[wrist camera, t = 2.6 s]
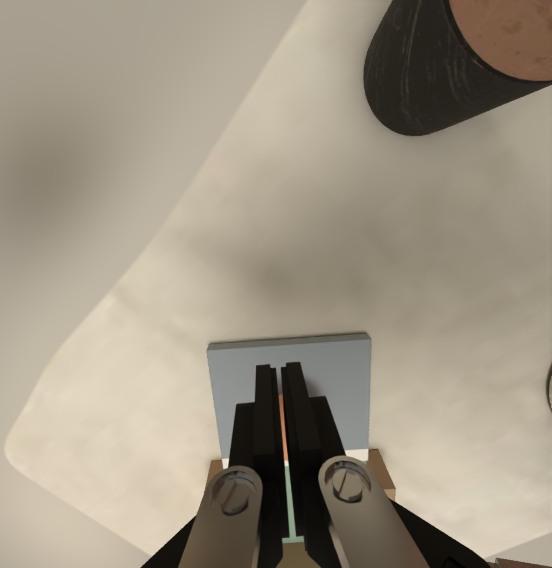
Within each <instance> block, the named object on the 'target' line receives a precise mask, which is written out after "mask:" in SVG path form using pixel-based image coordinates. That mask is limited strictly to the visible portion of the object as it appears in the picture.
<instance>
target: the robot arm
mask: <svg viewBox="0 0 552 568" xmlns="http://www.w3.org/2000/svg"><path fill="white" fill-rule="evenodd" d="M281 381H282V395H283V410H284V425H285V436H286V446H287V455H288V465H289V475H290V484H291V494H292V503H293V513H294V522H295V532H296V537H300V536H303V537H304V545H305V551H307V554H308V556H309V557H310V558H311V559H313V560H314V561H315V562H316V563H317V564H318V565H319V566H320V567H321V568H552V567H549V566H543V565H537V564H531V563H525V562H519V561H513V560H507V559H501V558H496V560H495V563H491V562H486V561H485V560H484V559H482V558H481V557H480V556H479V555H477V554H476V553H475V552H473V551H472V550H470V549H469V548H467V547H466V546H464V545H463V544H461V543H459V542H458V541H456V540H455V539H453V538H451V537H450V536H448V535H447V534H445V533H444V532H442V531H440V530H439V529H437V528H436V527H434V526H433V525H431V524H429V523H428V522H426V521H425V520H423V519H421V518H420V517H418V516H417V515H415V514H414V513H412V512H410V511H409V510H407V509H406V508H404V507H403V506H401V505H399V504H398V503H396V502H395V501H393V500H391V499H390V498H388V496H387V495H386V493H385V491H384V490H383V488H382V486H381V485H380V483H379V481H378V480H377V478H376V476H375V475H374V473H373V472H372V471H371V469H370V468H369V467H368V466H367V465H366V464H364V463H363V462H362V461H360V460H358V459H356V458H354V457H349V456H346V453H345V450H344V447H343V444H342V441H341V438H340V435H339V433H338V430H337V427H336V424H335V421H334V418H333V415H332V412H331V409H330V406H329V403H328V400H327V398H326V396H316V397H309V395H308V391H307V387H306V383H305V379H304V375H303V371H302V367H301V363H300V362H288V363H286V367H281ZM549 398H550V404H551V408H552V376H551V380H550V387H549ZM282 538H290V531H289V517H288V503H287V489H286V475H285V461H284V449H283V437H282V426H281V415H280V404H279V394H278V383H277V372H276V367H275V368H271V367H270V364H264V365H256V379H255V402H248V403H237V404H236V409H235V416H234V424H233V432H232V439H231V447H230V455H229V463H228V468H226V469H223V470H222V471H220V472H219V473H218V474H216V475H215V476H214V477H213V478H212V480H211V481H210V482H209V484H208V486H207V488H206V490H205V492H204V495H203V498H202V501H201V504H200V507H199V510H198V512H197V515H196V516H195V517H194V518H193V519H192V520H191V521H189V522H188V523H187V524H186V525H185V526H184V527H183V528H182V529H181V530H180V531H179V532H178V533H177V534H176V535H175V536H174V537H173V538H171V539H170V540H169V541H168V542H167V543H166V544H165V545H164V546H163V547H162V548H161V549H160V550H159V551H158V552H157V553H156V554H154V555H153V556H152V557H151V558H150V559H149V560H148V561H147V562H146V563H145V564H144V565H143V566H142V567H141V568H276V567H277V565H278V564H279V563H280V561H281V560H282V558H283V541H282Z"/></svg>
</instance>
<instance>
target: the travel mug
mask: <svg viewBox="0 0 552 568" xmlns="http://www.w3.org/2000/svg"><path fill="white" fill-rule="evenodd" d="M550 85H552V0H393V1H392V3H391V4H390V6H389V8H388V10H387V12H386V14H385V16H384V18H383V19H382V21H381V23H380V25H379V27H378V29H377V31H376V33H375V35H374V37H373V39H372V41H371V44H370V47H369V49H368V52H367V56H366V60H365V67H364V87H365V92H366V96H367V100H368V102H369V105H370V107H371V109H372V111H373V112H374V114H375V115H376V117H377V118H378V119H379V120H380V121H381V122H382V123H383V124H384V125H385V126H387V127H388V128H390V129H391V130H393V131H395V132H397V133H401V134H404V135H411V136H420V135H426V134H430V133H433V132H436V131H439V130H442V129H444V128H447V127H450V126H452V125H455V124H457V123H459V122H462V121H464V120H467V119H469V118H472V117H474V116H477V115H479V114H481V113H484V112H486V111H489V110H491V109H494V108H496V107H498V106H501V105H503V104H506V103H508V102H511V101H513V100H516V99H518V98H520V97H523V96H525V95H528V94H530V93H533V92H535V91H538V90H540V89H542V88H545V87H547V86H550Z"/></svg>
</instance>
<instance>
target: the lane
mask: <svg viewBox="0 0 552 568" xmlns="http://www.w3.org/2000/svg"><path fill="white" fill-rule="evenodd" d="M206 351H207V358H208V365H209V372H210V379H211V386H212V393H213V400H214V407H215V414H216V421H217V428H218V435H219V442H220V449H221V456H222V460H219V461H211V466H210V470H209V474H208V478H207V483H206V487H205V490H206V488H207V486H208V484H209V482H210V481H211V480H212V478H213V477H214V476H215V475H216V474H218V473H219V472H220V471H222V470H223V469H226V468H228V463H229V455H230V447H231V439H232V432H233V424H234V416H235V409H236V404H237V403H248V402H255V379H256V365H264V364H270V367H271V368H275V367H276V372H277V383H278V394H279V395H280V394H282V381H281V367H286V363H288V362H300V363H301V367H302V371H303V375H304V379H305V383H306V387H307V391H308V395H309V396H311V397H316V396H326V398H327V400H328V403H329V406H330V409H331V412H332V415H333V418H334V421H335V424H336V427H337V430H338V433H339V435H340V438H341V441H342V444H343V447H344V450H345V453H346V456H349V457H354V458H356V459H358V460H360V461H362V462H363V463H364V464H366V465H367V466H368V467H369V468H370V469H371V471H372V472H373V473H374V475H375V476H376V478H377V480H378V481H379V483H380V485H381V486H382V488H383V490H384V491H385V493H386V495H387V496H388V498H390V499H391V500H393V501H395V491H396V488H395V486H394V484H393V482H392V479H391V477H390V475H389V473H388V471H387V468H386V466H385V464H384V462H383V459H382V457H381V455H380V453H379V450H368V446H369V406H370V366H371V338H370V337H369V336H368V335H367V333H366V334H351V335H336V336H321V337H307V338H292V339H277V340H263V341H248V342H233V343H219V344H209V346H208V348H207V350H206ZM284 461H285V475H286V489H287V503H288V517H289V531H290V538H282V541H283V558H282V560H281V561H280V563H279V564H278V565H277V567H276V568H321V567H320V566H319V565H318V564H317V563H316V562H315V561H314V560H313V559H311V558H310V557H309V556H308V554H307V551H305V545H304V537H303V536H300V537H296V532H295V522H294V513H293V503H292V494H291V484H290V475H289V465H288V461H286V460H284ZM204 492H205V491H204Z"/></svg>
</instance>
